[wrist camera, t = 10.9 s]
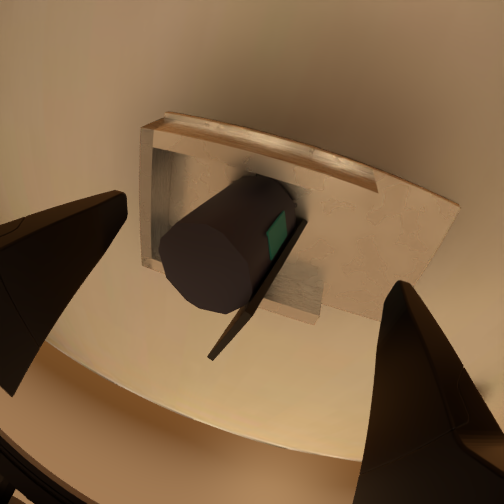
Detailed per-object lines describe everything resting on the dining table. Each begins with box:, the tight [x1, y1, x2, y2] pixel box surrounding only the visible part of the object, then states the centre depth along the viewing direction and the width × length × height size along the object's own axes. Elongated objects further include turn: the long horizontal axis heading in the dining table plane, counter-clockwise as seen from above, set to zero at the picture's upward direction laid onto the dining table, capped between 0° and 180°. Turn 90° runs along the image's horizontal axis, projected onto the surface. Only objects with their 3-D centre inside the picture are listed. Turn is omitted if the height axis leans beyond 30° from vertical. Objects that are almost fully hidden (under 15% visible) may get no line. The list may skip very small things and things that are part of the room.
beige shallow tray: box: [139, 112, 461, 325], centre depth 21 cm, size 22×13×4 cm, turn 79°
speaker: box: [158, 176, 308, 361], centre depth 18 cm, size 8×6×10 cm
